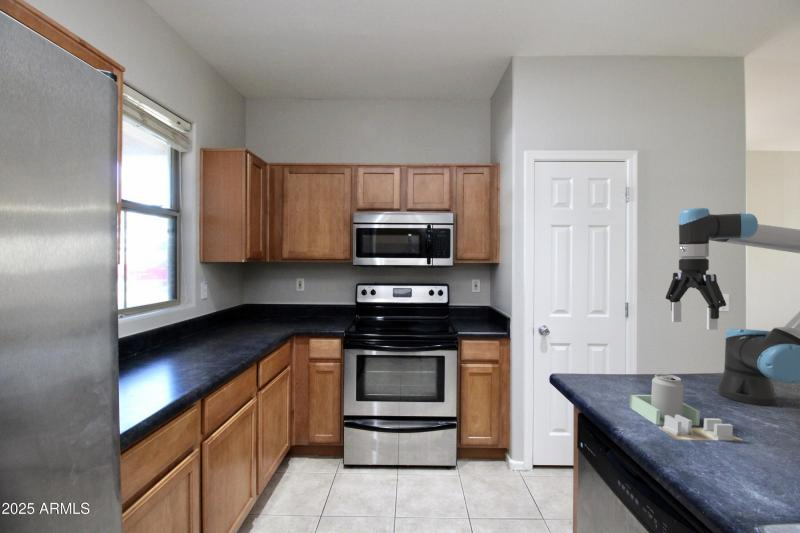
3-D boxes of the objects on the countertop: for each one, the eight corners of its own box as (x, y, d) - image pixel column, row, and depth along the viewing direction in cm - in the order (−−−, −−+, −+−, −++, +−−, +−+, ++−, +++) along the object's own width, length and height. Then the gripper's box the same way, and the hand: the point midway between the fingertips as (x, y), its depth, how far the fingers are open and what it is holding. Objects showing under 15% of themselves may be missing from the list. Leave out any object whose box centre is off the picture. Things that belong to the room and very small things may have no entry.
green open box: (668, 409, 119) (668, 395, 118) (699, 427, 107) (699, 411, 106) (629, 409, 118) (629, 394, 118) (655, 426, 106) (656, 410, 106)
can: (687, 425, 107) (689, 381, 106) (657, 422, 108) (659, 379, 108) (674, 414, 114) (676, 373, 114) (646, 411, 115) (647, 371, 115)
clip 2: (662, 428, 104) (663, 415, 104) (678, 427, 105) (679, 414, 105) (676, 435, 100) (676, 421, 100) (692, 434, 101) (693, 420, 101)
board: (719, 430, 105) (720, 428, 105) (743, 442, 98) (743, 440, 98) (657, 429, 105) (657, 427, 105) (676, 441, 98) (676, 439, 98)
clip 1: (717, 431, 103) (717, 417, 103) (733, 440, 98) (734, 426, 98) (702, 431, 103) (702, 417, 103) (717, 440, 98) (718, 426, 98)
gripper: (653, 258, 134) (653, 319, 135) (717, 258, 109) (717, 333, 110) (674, 257, 135) (674, 318, 135) (742, 258, 110) (742, 332, 110)
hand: (693, 325), depth 123 cm, fingers open, 13 cm apart
